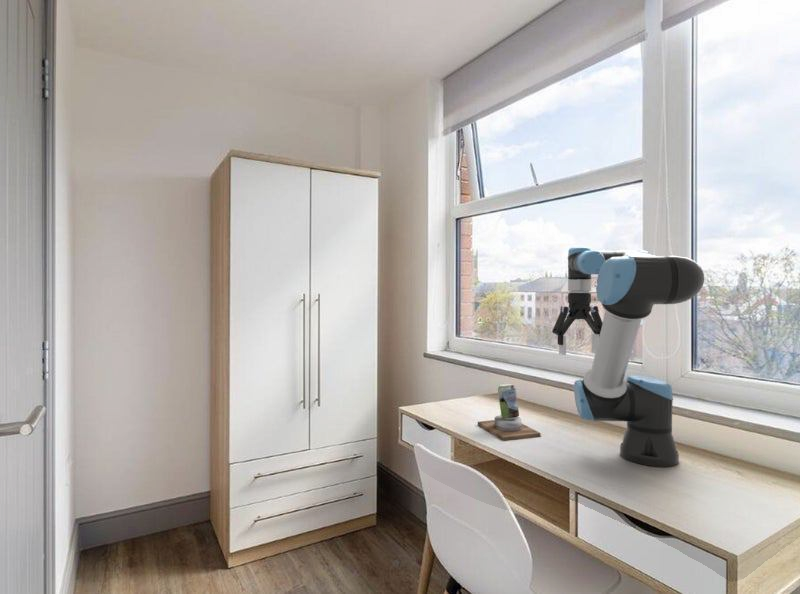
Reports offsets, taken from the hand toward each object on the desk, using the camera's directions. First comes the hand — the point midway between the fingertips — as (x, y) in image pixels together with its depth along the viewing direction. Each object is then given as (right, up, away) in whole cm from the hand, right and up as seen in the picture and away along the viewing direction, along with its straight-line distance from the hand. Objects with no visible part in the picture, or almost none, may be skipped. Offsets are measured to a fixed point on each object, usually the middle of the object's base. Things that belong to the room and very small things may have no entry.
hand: (579, 353), depth 163 cm
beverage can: (-25, -23, 0) cm, 33 cm away
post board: (-25, -27, 0) cm, 36 cm away
